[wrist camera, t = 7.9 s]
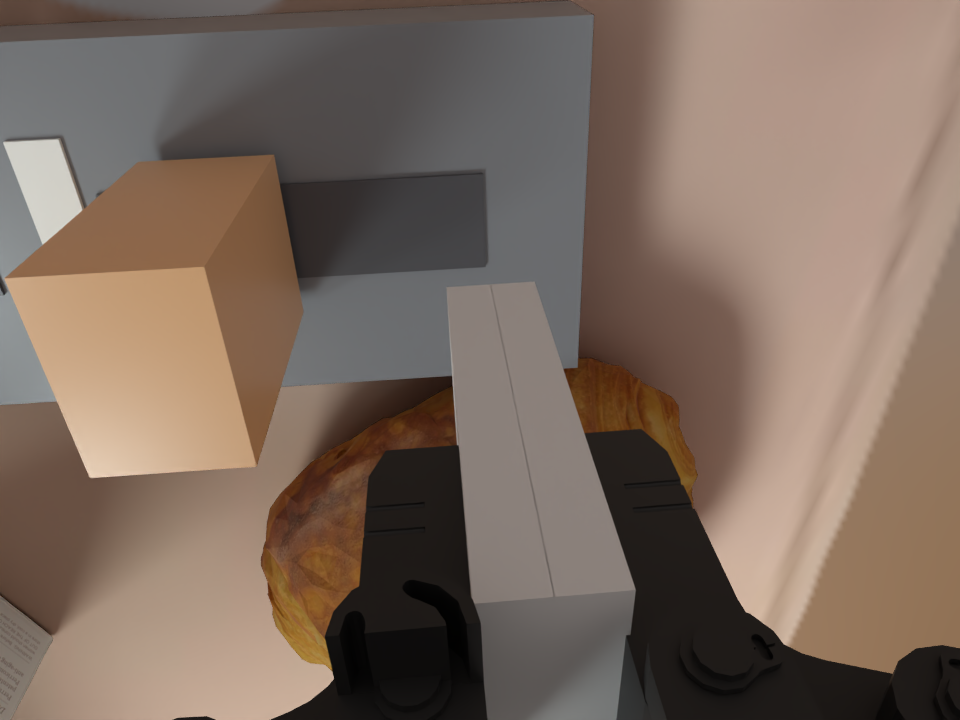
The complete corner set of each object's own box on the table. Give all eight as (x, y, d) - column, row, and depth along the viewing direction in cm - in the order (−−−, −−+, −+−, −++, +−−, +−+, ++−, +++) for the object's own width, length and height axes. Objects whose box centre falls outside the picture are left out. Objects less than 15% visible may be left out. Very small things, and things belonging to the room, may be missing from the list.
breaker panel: (-291, 369, 22) (-390, 431, 19) (-523, 50, 17) (-698, 75, 14) (560, 316, 23) (578, 369, 20) (570, 0, 18) (594, 15, 15)
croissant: (227, 418, 27) (123, 597, 20) (625, 263, 22) (660, 431, 15) (415, 639, 34) (384, 826, 27) (749, 557, 29) (810, 760, 22)
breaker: (183, 318, 18) (89, 477, 13) (138, 161, 16) (4, 278, 11) (303, 312, 18) (256, 467, 13) (274, 154, 16) (204, 266, 11)
